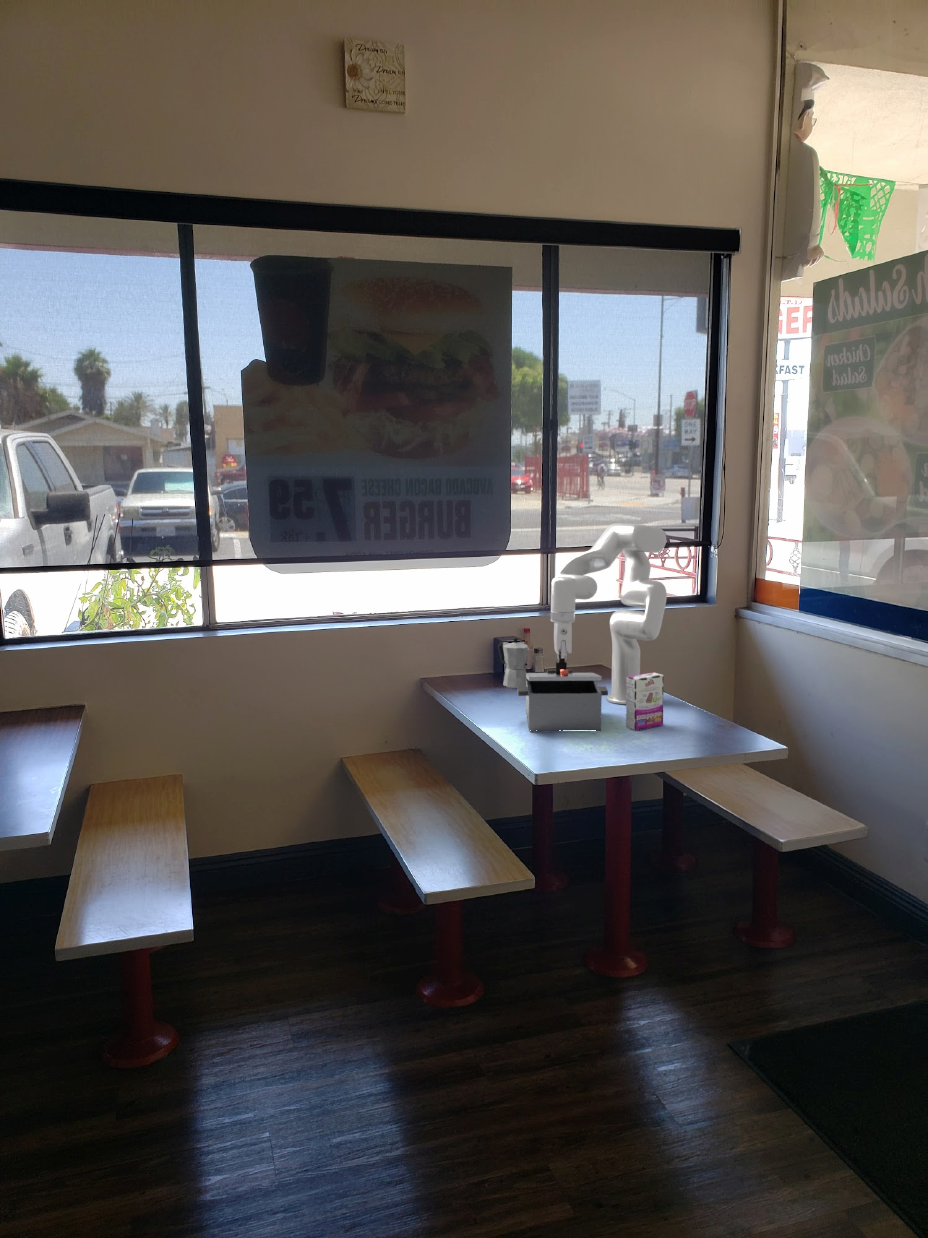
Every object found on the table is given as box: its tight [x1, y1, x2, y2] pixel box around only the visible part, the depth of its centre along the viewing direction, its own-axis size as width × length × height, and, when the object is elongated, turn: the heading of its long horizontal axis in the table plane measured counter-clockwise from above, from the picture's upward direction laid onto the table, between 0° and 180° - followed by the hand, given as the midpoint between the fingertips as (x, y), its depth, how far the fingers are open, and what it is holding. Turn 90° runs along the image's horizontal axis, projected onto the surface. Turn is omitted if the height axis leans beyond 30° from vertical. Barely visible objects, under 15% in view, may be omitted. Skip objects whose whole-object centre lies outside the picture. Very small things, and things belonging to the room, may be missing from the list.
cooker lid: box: [526, 669, 603, 681], centre depth 284 cm, size 22×22×3 cm
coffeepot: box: [497, 637, 530, 689], centre depth 333 cm, size 15×9×18 cm, turn 44°
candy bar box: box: [625, 672, 665, 732], centre depth 278 cm, size 11×5×16 cm, turn 117°
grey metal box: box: [517, 677, 609, 732], centre depth 285 cm, size 28×22×12 cm
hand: (560, 674), depth 282 cm, fingers closed
